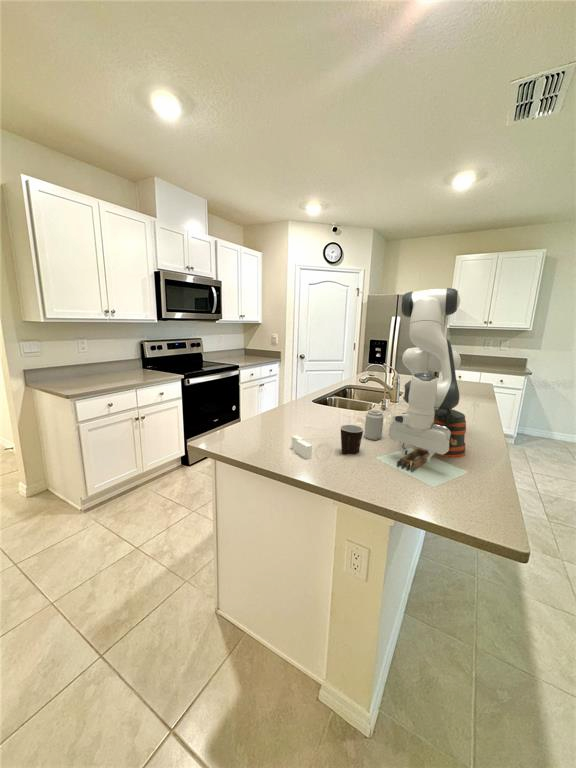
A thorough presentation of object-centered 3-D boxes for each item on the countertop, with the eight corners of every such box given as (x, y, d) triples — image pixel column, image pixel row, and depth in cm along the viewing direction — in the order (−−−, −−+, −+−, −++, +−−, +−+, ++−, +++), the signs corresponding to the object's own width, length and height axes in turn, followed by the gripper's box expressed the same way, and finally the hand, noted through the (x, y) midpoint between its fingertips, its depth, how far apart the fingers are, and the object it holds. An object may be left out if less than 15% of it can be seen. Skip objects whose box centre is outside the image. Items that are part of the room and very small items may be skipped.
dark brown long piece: (416, 454, 117) (417, 448, 117) (431, 459, 113) (432, 452, 113) (396, 466, 106) (397, 460, 106) (411, 472, 103) (412, 465, 102)
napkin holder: (316, 462, 111) (317, 447, 110) (285, 460, 112) (285, 445, 111) (316, 446, 126) (316, 433, 125) (288, 444, 127) (289, 431, 126)
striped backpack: (468, 468, 109) (476, 415, 105) (423, 460, 115) (429, 409, 111) (462, 448, 126) (470, 401, 122) (424, 441, 132) (429, 396, 128)
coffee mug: (347, 446, 125) (348, 423, 123) (365, 453, 119) (367, 428, 117) (329, 454, 117) (331, 429, 115) (348, 462, 111) (350, 435, 109)
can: (379, 435, 140) (382, 409, 137) (383, 441, 132) (385, 414, 130) (363, 434, 140) (365, 408, 138) (365, 440, 133) (367, 413, 131)
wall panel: (409, 450, 124) (410, 447, 124) (468, 475, 104) (469, 472, 104) (374, 460, 113) (374, 457, 113) (432, 490, 94) (433, 487, 94)
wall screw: (410, 470, 104) (411, 460, 104) (411, 470, 104) (412, 461, 103) (409, 470, 104) (410, 460, 103) (410, 471, 104) (411, 461, 103)
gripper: (455, 426, 101) (449, 465, 103) (397, 412, 116) (393, 447, 118) (447, 429, 97) (442, 470, 99) (388, 415, 112) (384, 451, 114)
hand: (415, 458), depth 109 cm, fingers open, 7 cm apart
